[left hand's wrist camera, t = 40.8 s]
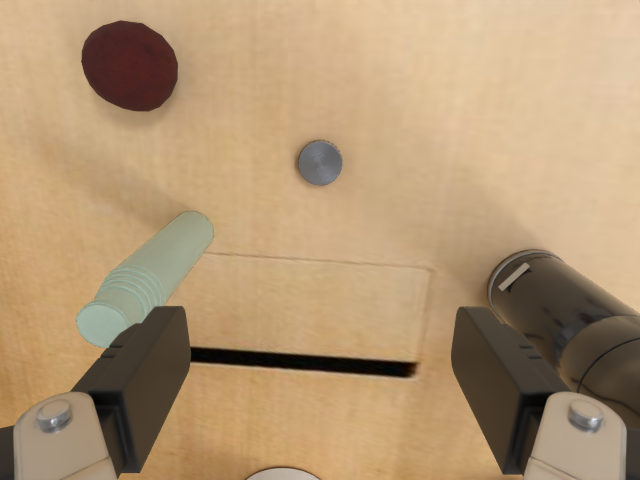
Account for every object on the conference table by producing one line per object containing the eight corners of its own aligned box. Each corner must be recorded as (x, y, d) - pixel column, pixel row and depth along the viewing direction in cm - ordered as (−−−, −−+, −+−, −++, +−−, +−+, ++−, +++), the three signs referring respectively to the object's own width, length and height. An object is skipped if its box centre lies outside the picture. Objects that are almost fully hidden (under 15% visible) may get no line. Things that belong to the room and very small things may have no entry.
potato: (94, 51, 38) (45, 41, 31) (162, 12, 36) (127, -6, 30) (137, 123, 40) (100, 128, 33) (202, 89, 39) (178, 88, 32)
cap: (333, 133, 40) (334, 134, 39) (347, 174, 42) (348, 177, 40) (292, 148, 41) (291, 150, 39) (307, 188, 42) (307, 191, 41)
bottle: (218, 218, 44) (143, 308, 25) (208, 255, 45) (131, 364, 27) (177, 205, 43) (70, 286, 25) (168, 242, 44) (61, 345, 26)
